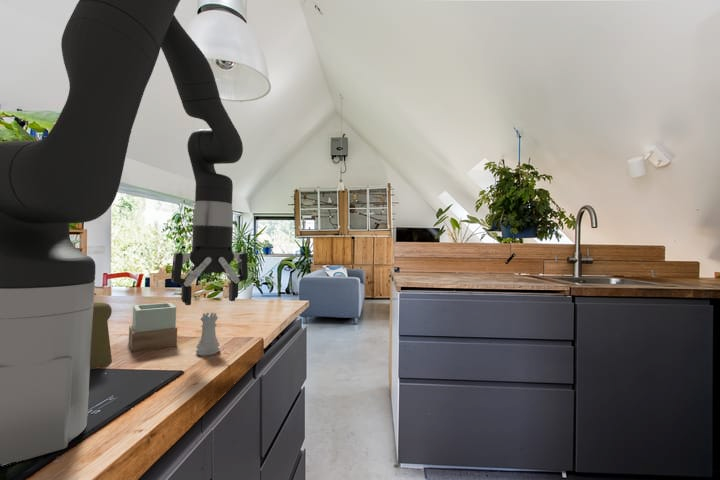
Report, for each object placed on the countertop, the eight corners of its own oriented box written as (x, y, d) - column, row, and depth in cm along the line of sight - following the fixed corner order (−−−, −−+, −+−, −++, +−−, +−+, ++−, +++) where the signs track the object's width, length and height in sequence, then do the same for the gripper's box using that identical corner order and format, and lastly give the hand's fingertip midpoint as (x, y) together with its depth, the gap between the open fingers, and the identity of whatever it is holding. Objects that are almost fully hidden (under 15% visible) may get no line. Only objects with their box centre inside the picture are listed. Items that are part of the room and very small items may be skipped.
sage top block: (175, 327, 68) (176, 307, 68) (135, 332, 63) (136, 310, 64) (169, 321, 74) (170, 302, 74) (132, 325, 69) (133, 305, 69)
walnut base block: (176, 346, 68) (177, 328, 68) (131, 353, 63) (132, 333, 63) (170, 337, 74) (170, 321, 74) (128, 343, 69) (129, 325, 69)
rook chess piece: (210, 357, 61) (211, 316, 61) (190, 355, 62) (192, 315, 62) (224, 350, 65) (225, 312, 66) (205, 348, 66) (207, 310, 66)
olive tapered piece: (57, 371, 52) (61, 306, 53) (83, 358, 58) (87, 300, 59) (97, 370, 53) (101, 306, 54) (119, 358, 59) (122, 300, 60)
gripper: (178, 221, 57) (175, 310, 57) (253, 226, 66) (251, 302, 66) (170, 223, 63) (167, 303, 62) (241, 227, 72) (239, 296, 72)
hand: (210, 302), depth 64 cm, fingers open, 8 cm apart
